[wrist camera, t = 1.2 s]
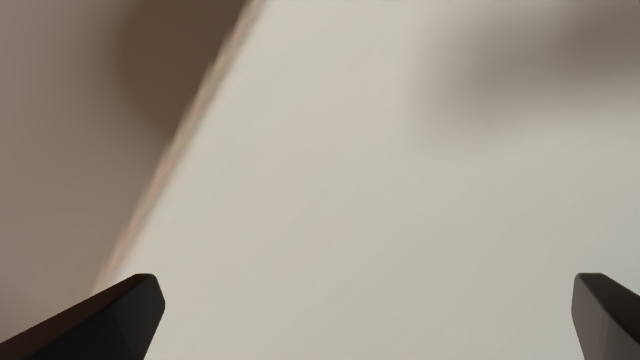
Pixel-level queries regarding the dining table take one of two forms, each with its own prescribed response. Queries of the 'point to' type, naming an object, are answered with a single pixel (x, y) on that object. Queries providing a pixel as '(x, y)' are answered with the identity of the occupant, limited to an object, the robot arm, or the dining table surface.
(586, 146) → the dining table surface
